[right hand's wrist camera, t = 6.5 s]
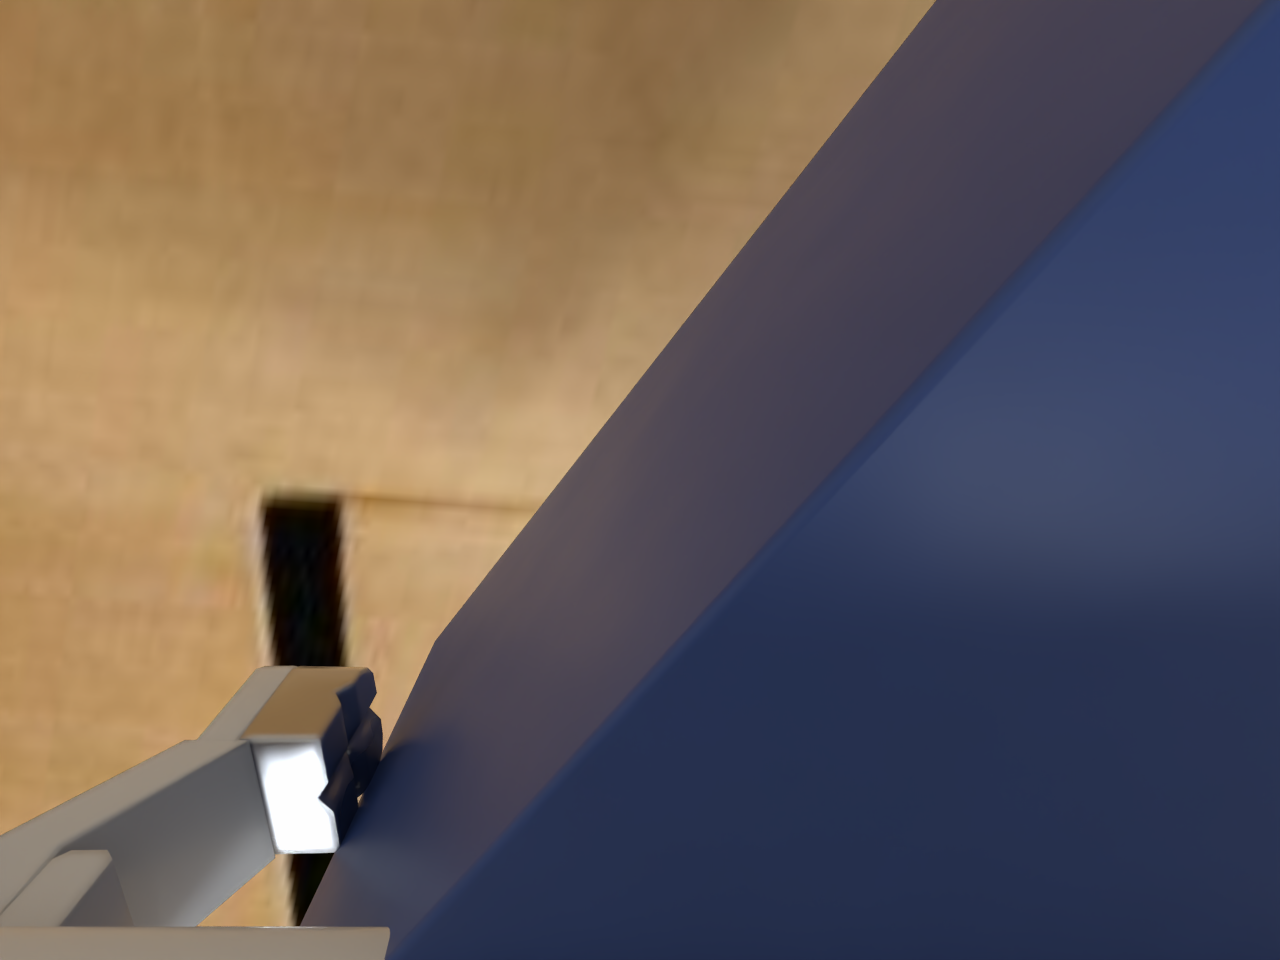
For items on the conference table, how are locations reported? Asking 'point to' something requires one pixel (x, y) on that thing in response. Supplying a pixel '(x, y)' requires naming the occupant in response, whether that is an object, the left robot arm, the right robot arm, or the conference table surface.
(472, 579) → the conference table surface
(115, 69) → the conference table surface
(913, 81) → the bar
